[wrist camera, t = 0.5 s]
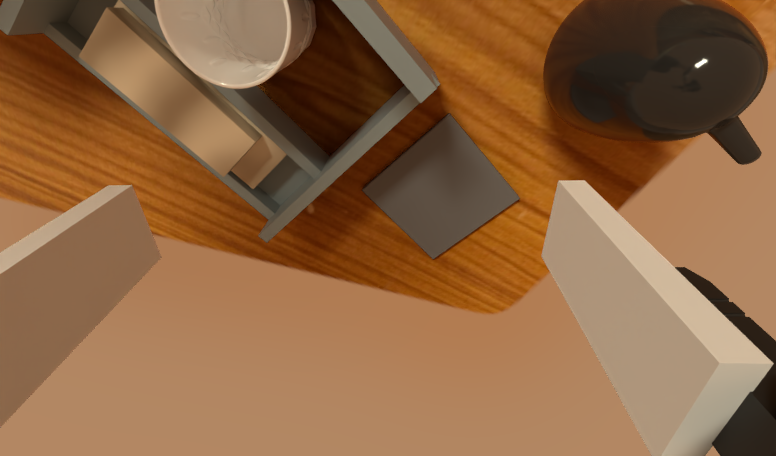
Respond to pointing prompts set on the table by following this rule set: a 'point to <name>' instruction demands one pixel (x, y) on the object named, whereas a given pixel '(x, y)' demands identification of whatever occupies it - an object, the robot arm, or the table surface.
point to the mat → (441, 188)
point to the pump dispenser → (657, 72)
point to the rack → (256, 98)
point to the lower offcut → (265, 150)
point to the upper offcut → (168, 90)
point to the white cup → (237, 37)
